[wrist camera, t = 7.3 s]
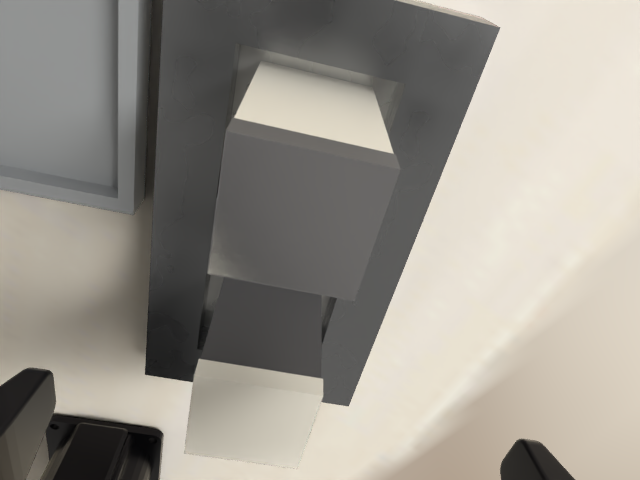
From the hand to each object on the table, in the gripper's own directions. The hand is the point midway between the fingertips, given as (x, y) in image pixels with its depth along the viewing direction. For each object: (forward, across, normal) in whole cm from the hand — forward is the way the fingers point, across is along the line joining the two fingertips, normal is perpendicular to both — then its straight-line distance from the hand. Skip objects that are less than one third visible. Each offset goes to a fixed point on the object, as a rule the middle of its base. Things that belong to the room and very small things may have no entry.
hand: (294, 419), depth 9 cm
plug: (+11, 0, -2) cm, 12 cm away
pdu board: (+12, 0, +2) cm, 12 cm away
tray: (+12, +11, -2) cm, 16 cm away
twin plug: (+11, 0, +6) cm, 13 cm away
